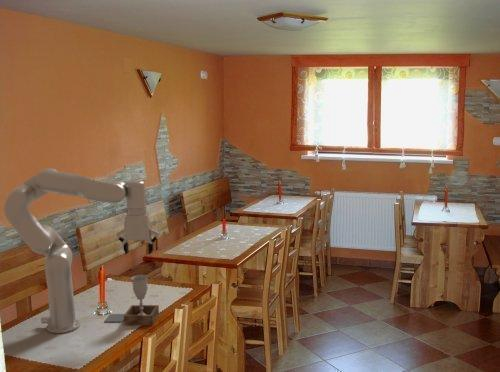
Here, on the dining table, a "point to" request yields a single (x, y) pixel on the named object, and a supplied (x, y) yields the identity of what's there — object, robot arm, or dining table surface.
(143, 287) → the chalice
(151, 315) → the wooden tray
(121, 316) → the mat
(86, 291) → the dining table surface
